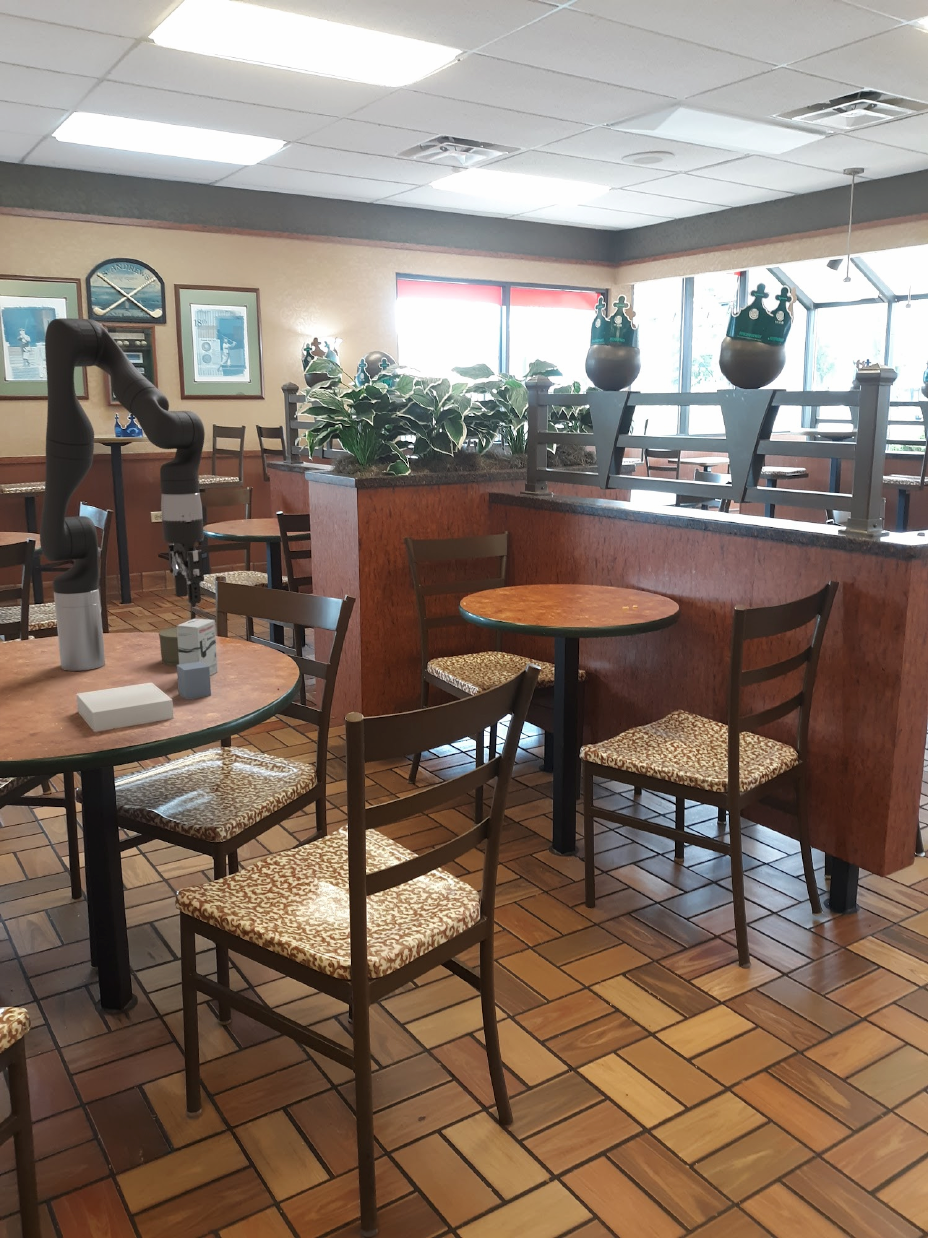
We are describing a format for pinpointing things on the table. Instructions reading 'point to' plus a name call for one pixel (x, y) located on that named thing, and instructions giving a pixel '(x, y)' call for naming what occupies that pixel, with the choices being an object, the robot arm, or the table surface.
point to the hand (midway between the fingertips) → (188, 599)
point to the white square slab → (124, 706)
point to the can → (169, 646)
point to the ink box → (198, 643)
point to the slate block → (193, 680)
